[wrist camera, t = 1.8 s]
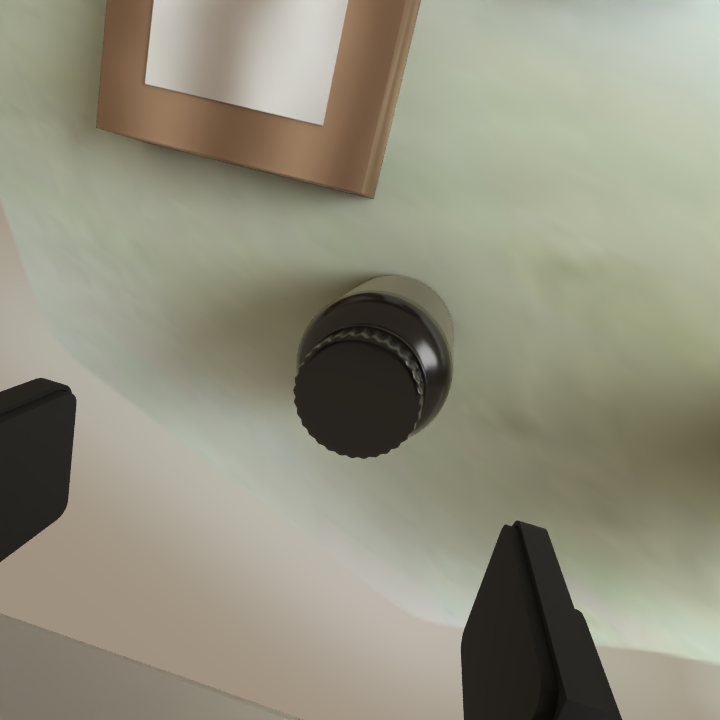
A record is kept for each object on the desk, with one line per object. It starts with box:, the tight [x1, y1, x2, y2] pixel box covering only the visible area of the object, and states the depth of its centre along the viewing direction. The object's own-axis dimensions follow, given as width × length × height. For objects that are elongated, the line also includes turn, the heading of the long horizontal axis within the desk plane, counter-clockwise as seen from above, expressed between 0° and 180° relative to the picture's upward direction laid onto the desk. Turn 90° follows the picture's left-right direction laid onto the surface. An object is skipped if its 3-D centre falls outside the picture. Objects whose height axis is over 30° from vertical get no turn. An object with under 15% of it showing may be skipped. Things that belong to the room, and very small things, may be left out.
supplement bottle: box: [293, 275, 454, 459], centre depth 24 cm, size 7×7×12 cm
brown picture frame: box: [96, 0, 421, 199], centre depth 25 cm, size 14×14×4 cm
